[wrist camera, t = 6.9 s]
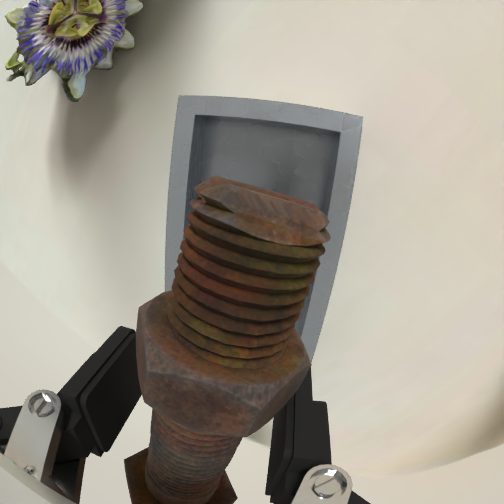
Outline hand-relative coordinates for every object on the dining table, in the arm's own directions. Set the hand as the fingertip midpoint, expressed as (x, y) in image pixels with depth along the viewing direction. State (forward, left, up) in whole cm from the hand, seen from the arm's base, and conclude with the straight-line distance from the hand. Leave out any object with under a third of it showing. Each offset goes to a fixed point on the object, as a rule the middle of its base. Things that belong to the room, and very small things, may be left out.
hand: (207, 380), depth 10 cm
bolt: (0, 0, -1) cm, 1 cm away
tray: (0, 0, -13) cm, 13 cm away
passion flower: (+16, -18, -13) cm, 27 cm away
